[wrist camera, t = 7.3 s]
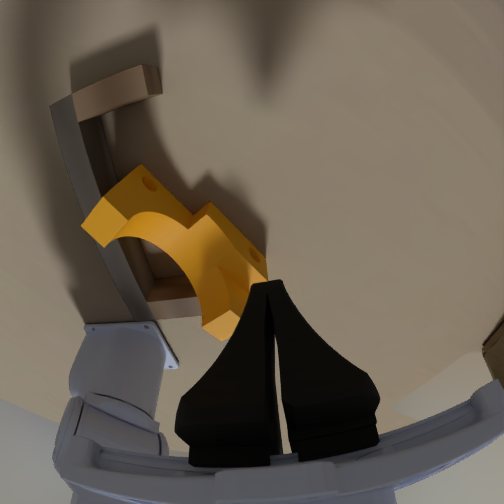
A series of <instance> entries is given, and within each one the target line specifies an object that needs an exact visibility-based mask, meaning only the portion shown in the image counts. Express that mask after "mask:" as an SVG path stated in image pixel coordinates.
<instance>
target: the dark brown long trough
mask: <svg viewBox="0 0 504 504" xmlns="http://www.w3.org/2000/svg"><path fill="white" fill-rule="evenodd" d="M160 94H162V89H161V85H160V80H159V75H158V70H157V67H153V66H148V65H143V64H141V65H138V66H135V67H133V68H130V69H127V70H125V71H122V72H119V73H117V74H114V75H112V76H110V77H107V78H105V79H103V80H100V81H98V82H96V83H94V84H91V85H89V86H87V87H85V88H83V89H81V90H79V91H77V92H75V93H73V94H71V95H69V96H67V97H65V98H63V99H61V100H60V101H58V102H56V103H54V104H52V105H51V106H50V111H51V115H52V119H53V123H54V127H55V131H56V135H57V138H58V142H59V145H60V149H61V152H62V156H63V159H64V162H65V165H66V168H67V171H68V174H69V177H70V180H71V183H72V186H73V189H74V191H75V194H76V197H77V200H78V202H79V205H80V207H81V210H82V212H83V215H84V217H85V220H86V218H87V217H88V216H89V214H90V213H91V212H92V210H93V209H94V208H95V206H96V205H97V204H98V202H99V201H100V200H101V199H102V197H103V196H104V195H105V194H106V193H108V192H109V191H110V190H111V189H112V188H113V187H114V186H115V185H116V184H118V180H117V176H116V173H115V170H114V167H113V164H112V160H111V157H110V154H109V150H108V147H107V143H106V139H105V136H104V132H103V128H102V124H101V120H100V115H103V114H105V113H108V112H110V111H113V110H115V109H118V108H121V107H124V106H126V105H129V104H132V103H135V102H138V101H141V100H144V99H147V98H150V97H154V96H157V95H160ZM93 239H94V238H93ZM94 241H95V243H96V245H97V248H98V250H99V252H100V254H101V256H102V258H103V261H104V263H105V265H106V267H107V269H108V271H109V273H110V275H111V277H112V279H113V281H114V283H115V285H116V287H117V289H118V291H119V292H120V294H121V296H122V298H123V300H124V302H125V304H126V305H127V307H128V309H129V311H130V312H131V314H132V316H133V318H134V319H135V321H145V320H158V319H170V318H181V317H192V316H202V313H201V307H200V303H199V300H198V297H197V294H196V292H195V290H194V288H193V286H192V284H191V282H190V280H189V279H188V277H187V275H184V276H177V277H170V278H162V279H155V278H154V275H153V273H152V271H151V268H150V266H149V263H148V261H147V259H146V256H145V254H144V251H143V249H142V246H141V244H140V241H139V239H138V237H133V236H124V237H119V238H116V239H114V240H112V241H111V242H110V243H108V244H107V245H106V247H105V248H104V247H103V246H102V245H100V244H99V243H98V242H97V241H96V240H95V239H94Z"/></svg>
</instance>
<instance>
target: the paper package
mask: <svg viewBox="0 0 504 504" xmlns="http://www.w3.org/2000/svg"><path fill="white" fill-rule="evenodd" d="M482 351H483V353H482V354H483V357H484V360H485V362H486V364H487V366H488V368H489V371H490V373H491V376H492V378H493V380H495V379H498V380H499V382H500V384H501V386H502V388H503V390H504V322H503V323H502V325H501V326H500V327H499V328H498V329H497V331H496V332H495V333H494V334H493V335H492V337H491V338H490V339H489V340H488V341H487V343H486V344H485V346H484V347H483V348H482Z"/></svg>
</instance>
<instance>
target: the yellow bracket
mask: <svg viewBox="0 0 504 504" xmlns="http://www.w3.org/2000/svg"><path fill="white" fill-rule="evenodd" d="M81 227H82V228H83V229H84V230H85V231H87V232H88V233H89V234H90V235H91V236H92V237H93V238H94V239H95V240H96V241H97V242H98V243H99V244H100V245H102V246H103V247H104V248H105V247H106V245H107V244H108V243H110V242H111V241H112V240H114V239H116V238H119V237H124V236H133V237H138V238H142V239H144V240H147V241H149V242H151V243H153V244H155V245H156V246H158V247H159V248H161V249H162V250H163V251H165V252H166V253H167V254H168V255H169V256H171V257H172V258H173V259H174V260H175V262H176V263H177V264H178V265H179V266H180V267H181V269H182V270H183V271H184V273H185V274H186V275H187V277H188V279H189V280H190V282H191V284H192V286H193V288H194V290H195V292H196V294H197V297H198V300H199V303H200V307H201V313H202V328H203V329H205V330H206V331H207V332H209V333H210V334H212V335H213V336H214V337H216V338H217V339H219V340H220V341H221V342H222V341H224V340H226V339H227V338H229V337H231V336H232V334H233V332H234V330H235V328H236V326H237V324H238V322H239V320H240V317H241V315H242V312H243V310H244V307H245V305H246V302H247V299H248V296H249V292H250V287H251V285H252V284H253V283H259V282H266V281H268V274H267V265H266V258H265V257H264V256H263V255H262V254H261V253H260V251H259V250H258V249H257V248H256V247H255V246H254V245H253V244H252V243H251V242H250V241H249V240H248V239H247V238H246V237H245V236H244V235H243V234H242V233H241V232H240V231H239V230H238V229H237V228H236V227H235V226H234V225H233V224H232V223H231V222H230V221H229V220H228V219H227V218H226V216H225V215H224V214H223V213H222V212H221V211H220V210H219V209H218V208H217V207H216V206H215V205H214V204H213V203H212V202H211V201H210V202H209V203H207V204H206V205H205V206H204V207H203V208H201V209H200V210H199V211H198V212H197V213H196V214H194V215H193V214H191V213H190V212H189V211H188V210H187V209H186V208H185V207H184V206H183V205H182V204H181V203H180V202H179V201H178V200H177V199H176V198H175V197H174V196H173V195H172V194H171V193H170V192H169V191H168V190H167V189H166V188H165V187H164V186H163V185H162V184H161V183H160V182H159V181H158V180H157V179H156V178H155V177H154V176H153V175H152V174H151V173H150V172H149V171H148V170H147V169H146V168H145V167H144V166H143V165H142V164H140V165H139V166H138V167H136V168H135V169H134V170H133V171H132V172H130V173H129V174H128V175H127V176H126V177H125V178H123V179H122V180H121V181H120V182H119V183H118V184H116V185H115V186H114V187H113V188H112V189H111V190H110V191H109V192H108V193H106V194H105V195H104V196H103V197H102V199H101V200H100V201H99V202H98V204H97V205H96V206H95V208H94V209H93V210H92V212H91V213H90V214H89V216H88V217H87V218H86V220H85V221H84V222H83V224H82V225H81Z"/></svg>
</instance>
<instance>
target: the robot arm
mask: <svg viewBox="0 0 504 504" xmlns="http://www.w3.org/2000/svg"><path fill="white" fill-rule="evenodd" d="M84 330H85V332H86V333H87V334H86V336H85V338H84V340H83V342H82V345H81V347H80V349H79V351H78V354H77V356H76V358H75V360H74V363H73V365H72V368H71V370H70V374H69V390H70V393H71V396H72V398H70V400H69V402H68V404H67V406H66V409H65V411H64V414H63V417H62V420H61V423H60V426H59V429H58V432H57V436H56V441H55V448H54V451H53V457H52V459H53V462H54V467H55V469H56V470H57V472H58V473H59V474H60V476H61V478H62V479H63V480H64V481H65V482H66V483H67V484H68V486H69V487H70V488H71V489H72V490H73V495H72V499H71V504H397V503H396V499H395V493H394V491H395V490H398V489H401V488H403V487H406V486H408V485H411V484H414V483H416V482H418V481H421V480H423V479H425V478H428V477H430V476H432V475H434V474H436V473H438V472H440V471H442V470H445V469H446V468H449V467H451V466H452V465H454V464H456V463H458V462H460V461H461V460H464V459H465V458H467V457H469V456H471V455H472V454H474V453H476V452H478V451H479V450H481V449H482V448H484V447H486V446H487V445H489V444H491V443H492V442H493V441H495V440H496V439H497V438H498V437H500V436H501V435H502V434H504V390H503V388H502V386H501V384H500V382H499V380H498V379H495V380H493V381H491V382H490V383H488V384H486V385H484V386H482V387H481V388H479V389H478V390H477V391H475V392H474V393H473V395H472V396H471V397H470V399H469V400H467V401H465V402H463V403H461V404H459V405H456V406H454V407H452V408H450V409H448V410H446V411H443V412H441V413H439V414H436V415H434V416H431V417H429V418H427V419H424V420H421V421H419V422H416V423H413V424H411V425H408V426H405V427H402V428H399V429H396V430H393V431H390V432H387V433H383V434H380V435H378V432H377V428H376V423H377V420H376V416H375V411H376V409H377V407H378V405H379V403H380V396H379V393H378V391H377V389H376V387H375V385H374V383H373V381H372V380H371V378H370V377H369V375H368V374H367V373H366V372H364V371H363V370H361V369H359V368H358V367H356V366H355V365H353V364H352V363H351V362H349V361H348V360H346V359H345V358H344V357H342V356H341V355H340V354H339V353H338V352H336V351H335V350H334V349H333V348H332V347H331V346H329V345H328V344H327V343H326V342H325V341H324V340H323V339H322V338H321V337H320V336H319V335H318V334H317V333H316V332H315V331H314V330H313V328H312V327H311V326H310V325H309V324H308V323H307V321H306V320H305V319H304V317H303V316H302V315H301V313H300V312H299V311H298V309H297V308H296V306H295V305H294V303H293V302H292V300H291V298H290V297H289V295H288V293H287V291H286V289H285V287H284V284H283V281H282V280H280V279H278V280H272V281H266V282H259V283H253V284H252V285H251V287H250V292H249V296H248V299H247V302H246V305H245V307H244V310H243V312H242V315H241V317H240V320H239V322H238V324H237V326H236V328H235V330H234V332H233V334H232V336H231V338H230V339H229V341H228V343H227V344H226V346H225V348H224V349H223V351H222V352H221V354H220V355H219V357H218V358H217V359H216V361H215V362H214V363H213V365H212V366H211V367H210V368H209V369H208V371H207V372H206V373H205V374H204V375H203V376H202V378H201V379H200V380H199V381H198V382H197V383H196V384H195V385H194V386H193V387H192V388H191V389H190V390H189V391H188V392H187V393H185V394H184V395H183V396H182V397H181V400H180V403H179V406H178V409H177V413H176V420H175V433H176V434H177V435H178V436H179V437H180V438H181V439H182V440H183V441H184V442H185V443H187V444H188V445H189V446H190V447H189V457H174V456H169V446H168V443H167V441H166V438H165V436H164V434H163V433H161V432H159V425H160V423H159V422H156V421H154V417H155V412H156V406H157V401H158V396H159V391H160V386H161V381H162V376H163V371H164V369H178V368H179V363H178V362H177V360H176V359H175V357H174V355H173V353H172V352H171V350H170V348H169V347H168V345H167V343H166V341H165V340H164V338H163V336H162V334H161V333H160V331H159V329H158V327H157V325H156V324H155V323H154V322H153V321H142V322H127V323H109V324H86V325H84ZM275 337H276V341H277V346H278V356H279V368H280V382H281V397H282V404H283V408H284V413H285V418H286V422H287V429H288V439H289V442H290V447H291V451H292V453H289V454H283V448H282V439H281V430H280V421H279V412H278V403H277V393H276V384H275ZM353 460H354V461H353Z"/></svg>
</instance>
